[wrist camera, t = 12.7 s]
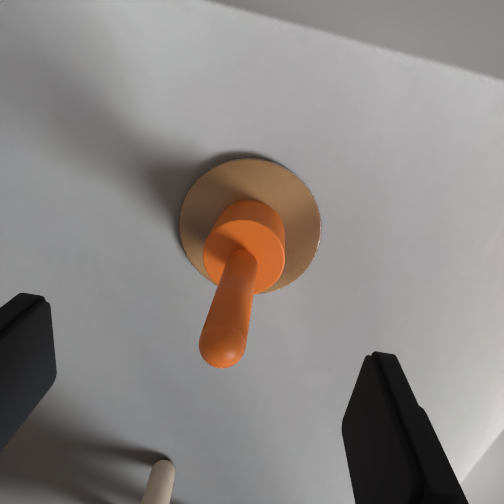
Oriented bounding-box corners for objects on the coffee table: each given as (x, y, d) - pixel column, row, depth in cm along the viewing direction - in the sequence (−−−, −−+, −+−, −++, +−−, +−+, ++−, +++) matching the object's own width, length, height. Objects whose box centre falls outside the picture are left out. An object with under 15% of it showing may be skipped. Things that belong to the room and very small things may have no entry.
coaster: (157, 188, 22) (154, 190, 22) (293, 134, 21) (294, 135, 20) (214, 305, 25) (212, 309, 25) (337, 267, 24) (338, 271, 23)
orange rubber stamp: (219, 194, 22) (154, 287, 11) (290, 206, 22) (300, 313, 11) (211, 259, 23) (148, 398, 12) (277, 270, 23) (274, 420, 12)
